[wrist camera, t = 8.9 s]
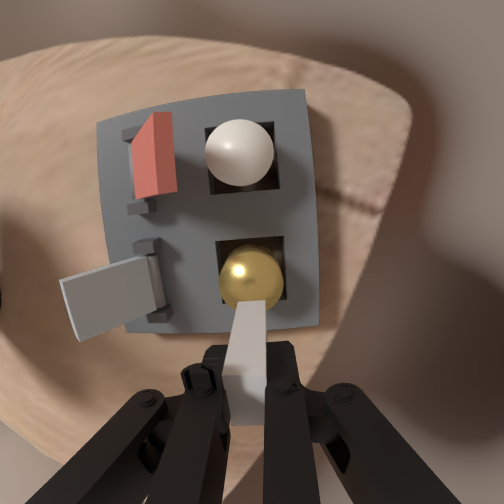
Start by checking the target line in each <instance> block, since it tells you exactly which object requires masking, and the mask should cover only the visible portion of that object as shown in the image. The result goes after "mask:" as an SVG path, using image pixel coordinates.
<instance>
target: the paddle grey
mask: <svg viewBox="0 0 504 504" xmlns="http://www.w3.org/2000/svg"><path fill="white" fill-rule="evenodd" d="M59 282H60V286H61V290H62V293H63V297H64V301H65V304H66V308H67V311H68V314H69V318H70V321H71V324H72V327H73V330H74V333H75V336H76V338H77V339H78V340H79V341H80V342H83V341H85V340H88V339H90V338H92V337H95V336H97V335H99V334H102V333H104V332H106V331H109V330H111V329H113V328H116V327H118V326H120V325H123V324H125V323H127V322H130V321H132V320H134V319H137V318H139V317H141V316H144V315H146V314H148V313H151V312H153V311H155V310H157V308H162V307H164V306H165V305H166V300H165V295H164V290H163V284H162V279H161V273H160V267H159V261H158V255H157V254H156V253H152V254H146V255H142V256H136V257H133V258H130V259H126V260H123V261H119V262H116V263H113V264H109V265H106V266H102V267H99V268H96V269H93V270H89V271H86V272H83V273H79V274H76V275H73V276H70V277H67V278H63V279H60V280H59Z"/></svg>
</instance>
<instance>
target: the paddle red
mask: <svg viewBox="0 0 504 504" xmlns="http://www.w3.org/2000/svg"><path fill="white" fill-rule="evenodd" d="M131 143H132V144H129V145H128V151H129V167H130V180H131V191H132V199H135V198H136V199H141V198H148V197H153V196H158V195H162V194H167V193H172V192H177V181H176V170H175V157H174V142H173V125H172V112H153V113H152V114H151V115H150V117H149V118H148V120H147V121H146V122H145V124H144V125H143V126H142V128H141V129H140V131H139V132H138V134H137V135H136V136H135V138H134V139H133V141H132V142H131Z"/></svg>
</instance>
